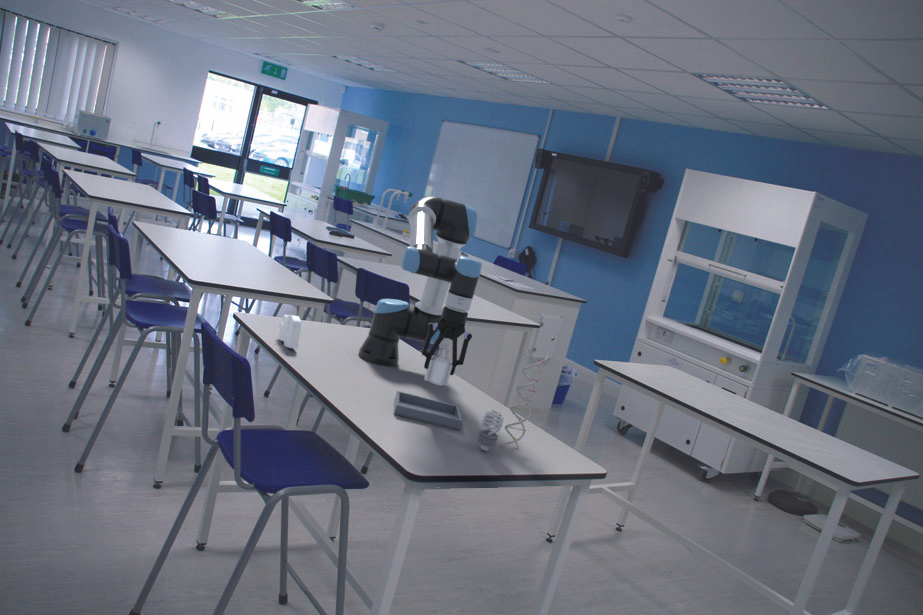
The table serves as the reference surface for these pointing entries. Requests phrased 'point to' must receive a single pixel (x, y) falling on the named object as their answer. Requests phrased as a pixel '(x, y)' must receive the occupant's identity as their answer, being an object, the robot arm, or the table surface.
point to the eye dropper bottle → (439, 368)
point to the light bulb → (488, 436)
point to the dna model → (524, 399)
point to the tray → (427, 410)
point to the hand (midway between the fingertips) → (435, 381)
